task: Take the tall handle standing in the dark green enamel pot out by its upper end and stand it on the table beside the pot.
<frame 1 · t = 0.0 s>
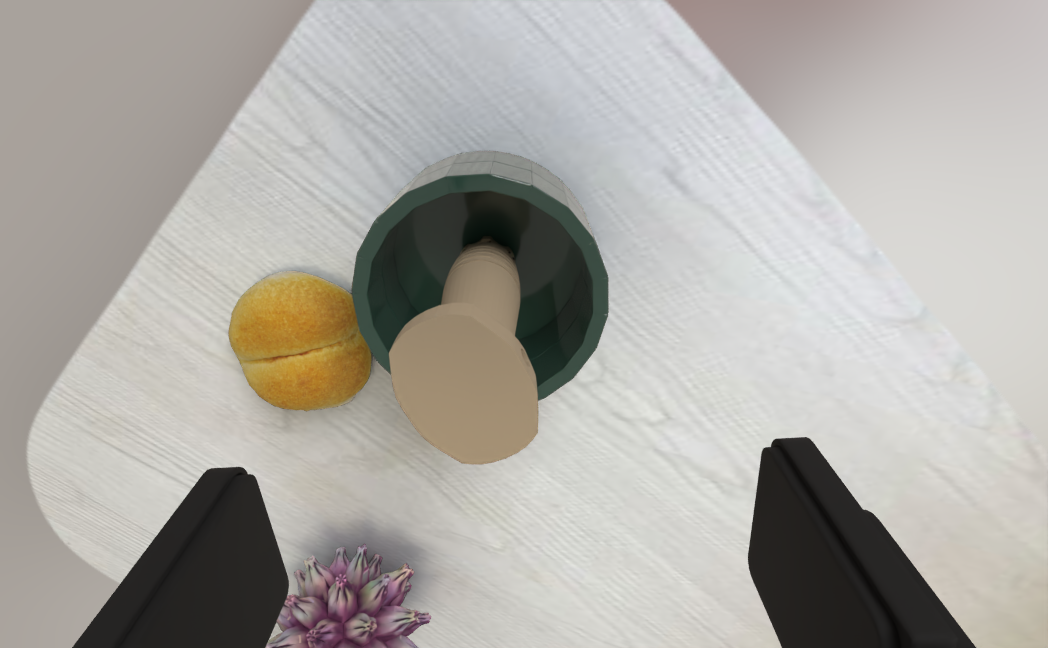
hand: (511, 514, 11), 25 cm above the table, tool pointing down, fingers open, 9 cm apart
flower: (365, 568, 46), on the table
pot: (488, 258, 35), on the table
handle: (488, 259, 35), resting on pot
bread roll: (311, 334, 38), on the table
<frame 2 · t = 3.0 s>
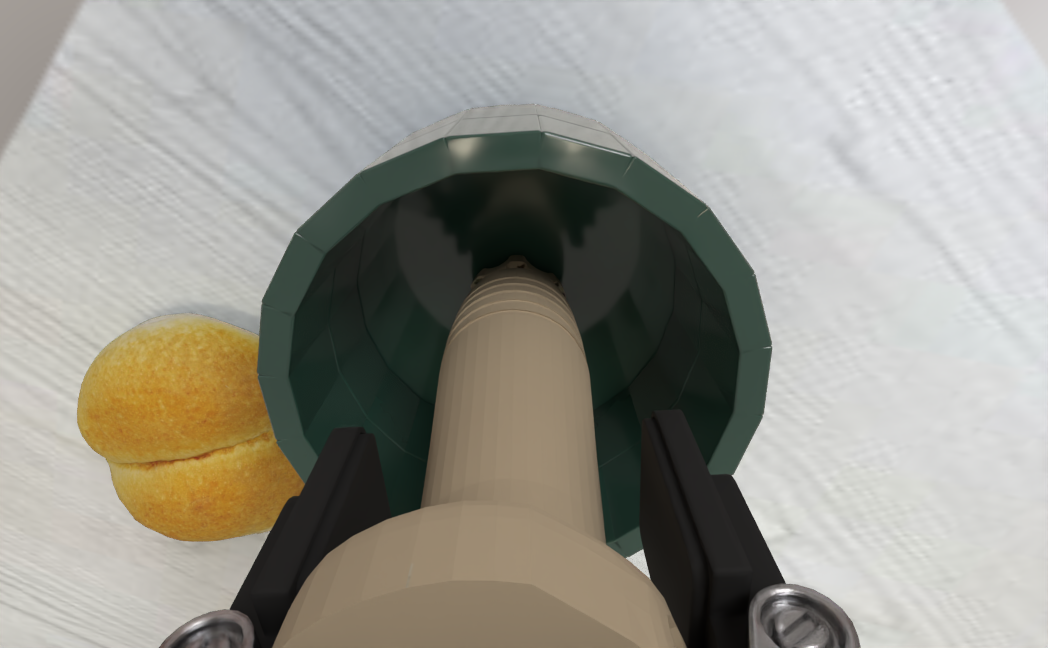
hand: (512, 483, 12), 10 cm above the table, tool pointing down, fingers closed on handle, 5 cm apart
pot: (516, 291, 21), on the table
handle: (516, 293, 21), resting on pot, touching gripper
bread roll: (227, 411, 23), on the table
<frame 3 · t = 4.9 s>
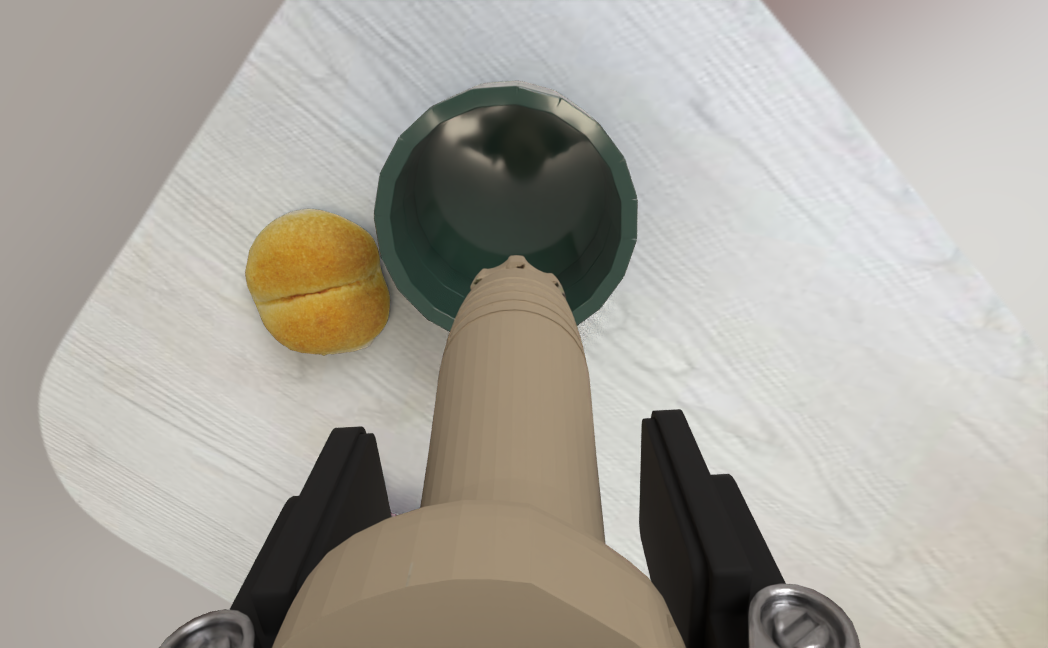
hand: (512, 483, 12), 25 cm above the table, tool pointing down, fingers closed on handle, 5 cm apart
pot: (509, 196, 35), on the table
handle: (516, 294, 21), point 15 cm above the table, touching gripper
bread roll: (328, 278, 37), on the table
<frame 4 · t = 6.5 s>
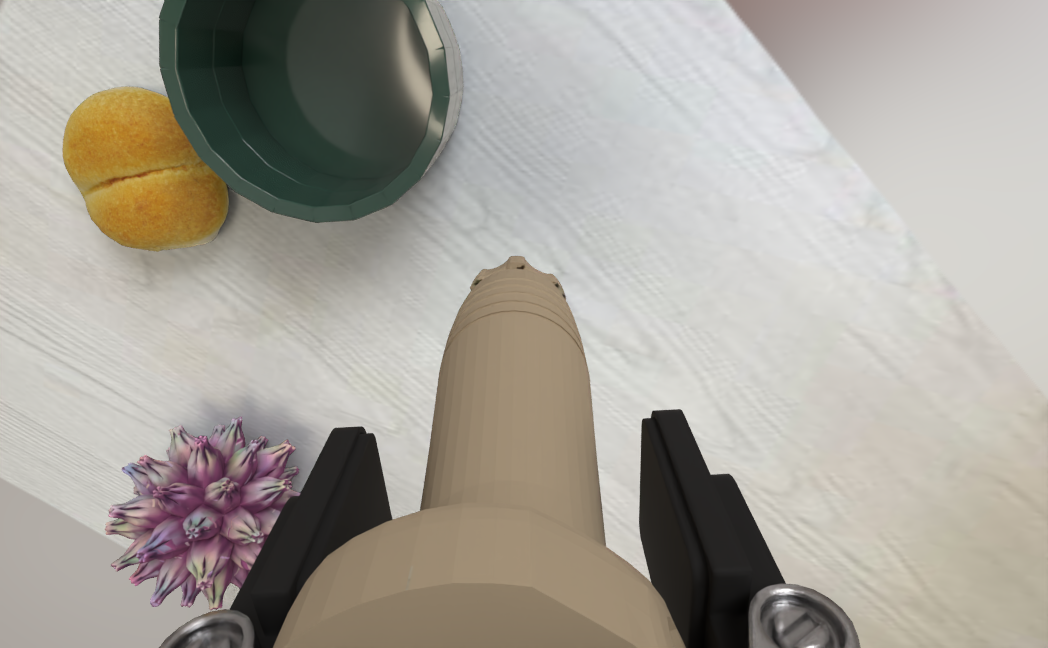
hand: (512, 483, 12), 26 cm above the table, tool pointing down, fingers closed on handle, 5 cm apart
flower: (252, 454, 43), on the table
pot: (348, 76, 32), on the table
handle: (516, 294, 21), point 16 cm above the table, touching gripper
bread roll: (165, 171, 35), on the table
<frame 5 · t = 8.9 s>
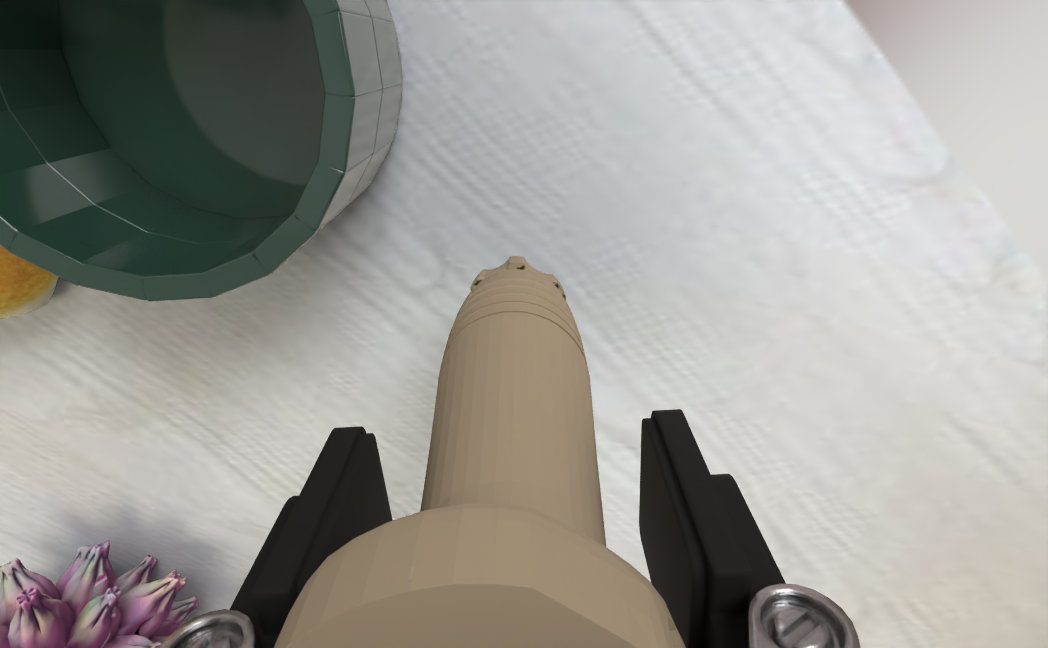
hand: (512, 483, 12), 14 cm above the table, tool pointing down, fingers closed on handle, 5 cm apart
flower: (139, 575, 32), on the table
pot: (228, 65, 21), on the table
handle: (516, 295, 21), point 4 cm above the table, touching gripper
when the fingers open (10 cm above the table, at t = 10.4 s): handle stays where it is, on the table.
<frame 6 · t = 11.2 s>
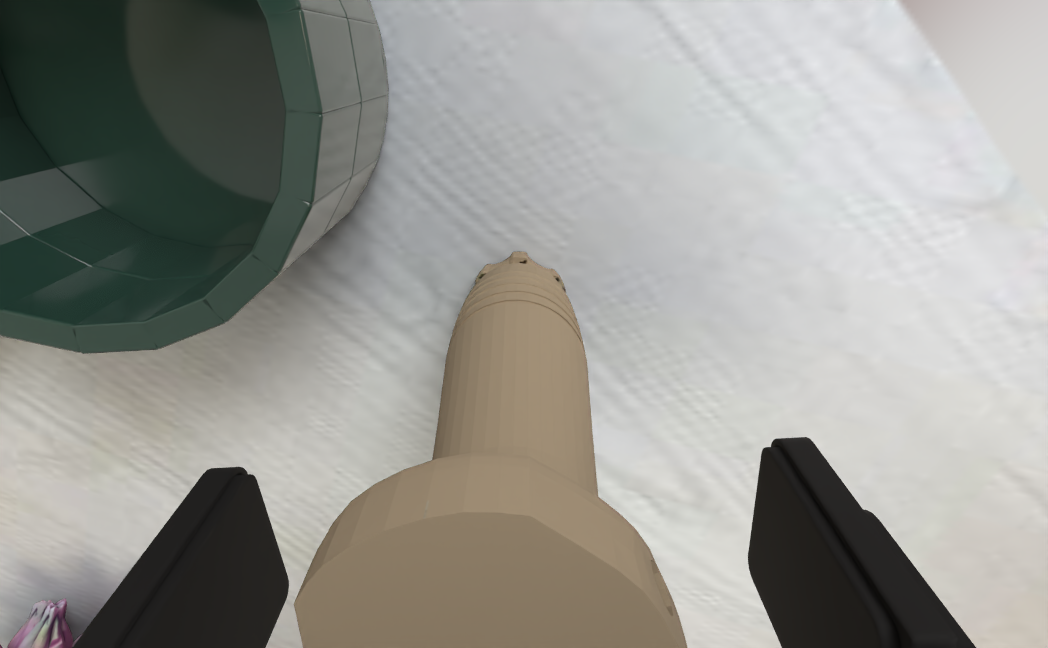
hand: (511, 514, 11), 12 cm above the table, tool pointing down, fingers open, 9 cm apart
flower: (105, 629, 29), on the table
pot: (188, 73, 19), on the table
handle: (519, 289, 22), on the table
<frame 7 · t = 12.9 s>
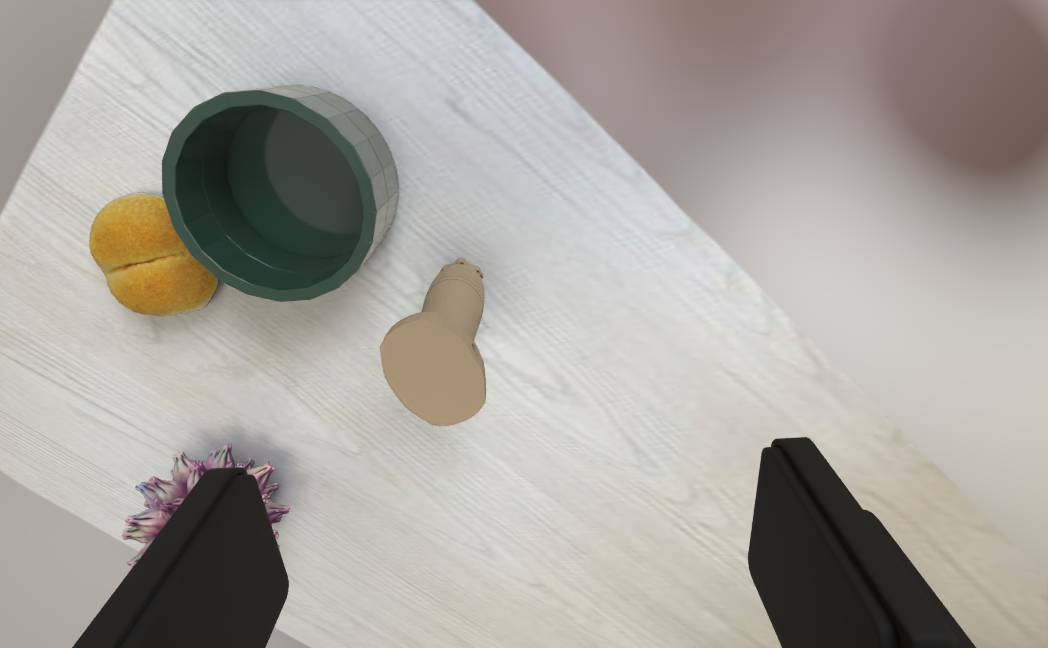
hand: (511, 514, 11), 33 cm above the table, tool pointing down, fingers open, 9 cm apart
flower: (241, 472, 52), on the table
pot: (309, 181, 42), on the table
handle: (462, 276, 45), on the table
bread roll: (168, 252, 44), on the table
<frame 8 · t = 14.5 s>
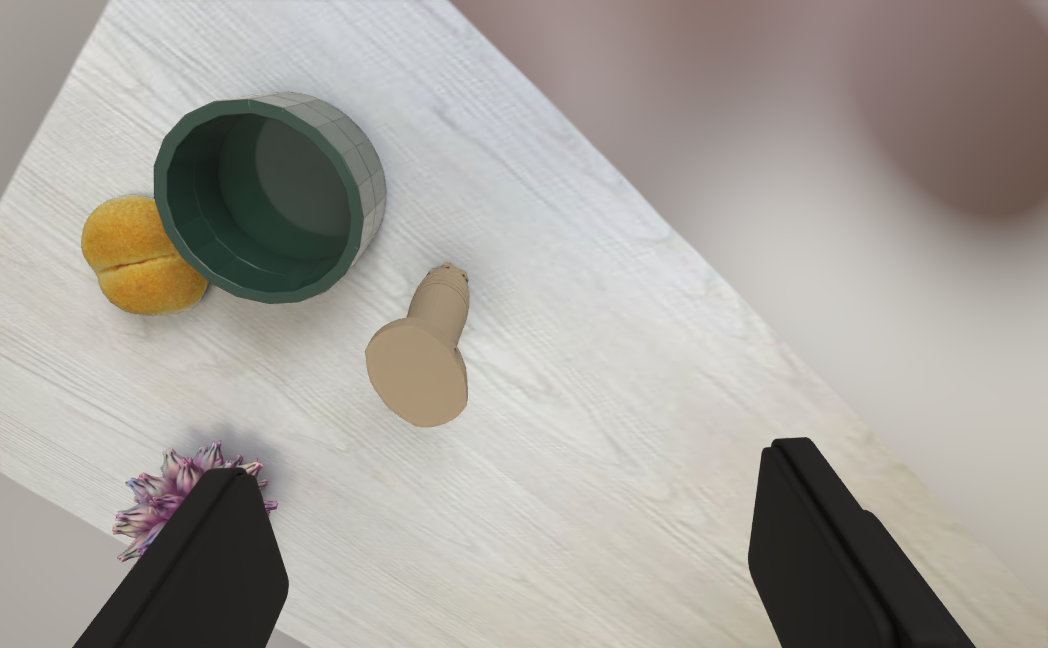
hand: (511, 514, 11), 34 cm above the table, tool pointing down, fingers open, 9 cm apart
flower: (230, 469, 53), on the table
pot: (298, 185, 42), on the table
handle: (448, 280, 46), on the table
bread roll: (159, 253, 45), on the table
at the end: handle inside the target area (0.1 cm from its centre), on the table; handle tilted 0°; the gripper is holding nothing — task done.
